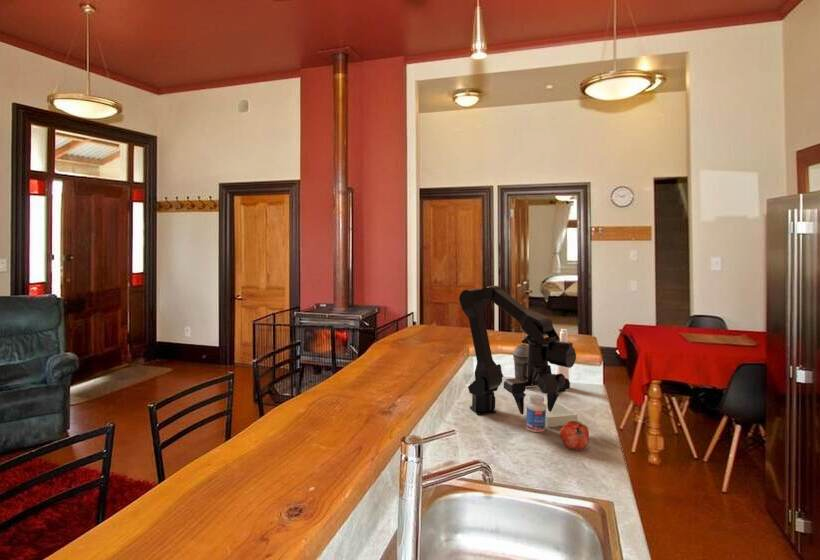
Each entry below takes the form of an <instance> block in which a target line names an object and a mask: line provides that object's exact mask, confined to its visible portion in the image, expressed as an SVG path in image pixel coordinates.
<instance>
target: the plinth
mask: <svg viewBox="0 0 820 560" xmlns="http://www.w3.org/2000/svg"><path fill="white" fill-rule="evenodd" d="M544 404H545V405H546V417H545V428H553V427H563V426H564V425H565V424H566V423H567V422H570V421H576V422H578V413H576V412H574V411H573V410H571V409H569V408H568V407H566V406H564V405H563V404H562V403H560V402H555V404H554V406H553V409H552V411H551V412H550V411H548V405H547V403H544Z"/></svg>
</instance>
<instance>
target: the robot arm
mask: <svg viewBox="0 0 820 560" xmlns="http://www.w3.org/2000/svg"><path fill="white" fill-rule="evenodd" d="M458 301H459V303H460V307H461V310H462V312H463V313H464V314H465V316H466V317H467V319H468V323H469V327H470V333H471V338H472V343H473V347H474V353H475V357H476V367H475V370H474V381H473V382H471V383H470V385H468V386H467V388H468V393H469V394H471V399H472V400H471V406H469V408H470V409H471V411H473V412H474V413H475V414H476V415H478V416H479V415H490V414H496V413H497V411H496V396H495V392H497V391H498V390H499V387H500V386H501V384H502V383H503V389H504V390H506V391H507V392H509V393H511V395H512V397H513V398H514V401H515V404H516V406H517V408H518V411H519V414H520V415H524V411H525V407H524V406H525V403H524V401H525V397H526V396H527V394H526V393H525V392H526V389H531V388H539V390H540V392H541V393H543V394H546V396H547V397H546V401H547V403H546V404H547V405H548V411H550V412H551V411H552V409H553V406H554V404H555V403H557V402H556V401H557V399H558V397H559V396H560V395H561V394H562V393H566V391H567V390H566V389H569V390H571V382H570V379H569V380H568V379H567V378H565V376H564V375H563V374H555V373H552V368H551V365H555V366H556V365H559V366H564V367H568V368H569V369H571V368H572V367H573V366H575V363H576V359H577V353H576V350H575V348H574V346H573V344H574V343H573V342H570V341H567V342H562V341H560V335H559V334H558V333H557V332H556V330H555V328H554V325H553V321H552V319H550V318H549V317H548V316H546V315H544V314H542V313H540V312H536V311H533V310H531V309H529V308H527V307H526V306H525V305H523V304H522V303H520V302H519V301H518V300H517V299H515V298H514V297H513V296H511V295H510V294H508V293H507V292H506V291H504V290H503V289H502V288H501V286H499V285H490V286H487V287H484V288H472V289H471V288H470V289H464V290H462V291H461V292H460V294H459V296H458ZM487 301H491V302H492V303H493V304H495V305H496V306H498V308H500V309H502V310H503V311H504V312H505V313H507V314H508V315H509V316H511V318H513V319H515V320H516V322H517V323H519V326H520V328H521V330H522V331H524V334H526V337H524V340H523V339H522V340H521V343H524V345H527V346H528V362H525V365H526V366H528V367H527V375H525V379H526V380H527V381H524V382H522V381H520V380H519V379H517V378H515V377H514V378H513V377H512V378H506V379H504V382H503V377H504V374H503V372H502V366H501V364H500V363H499V364H497V363H496V362H495V361H494V359H493V355H492V350H491V346H490V340H489V335H488V330H487V326H486V320H485V311H486V308H487ZM549 364H551V365H549Z"/></svg>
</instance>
